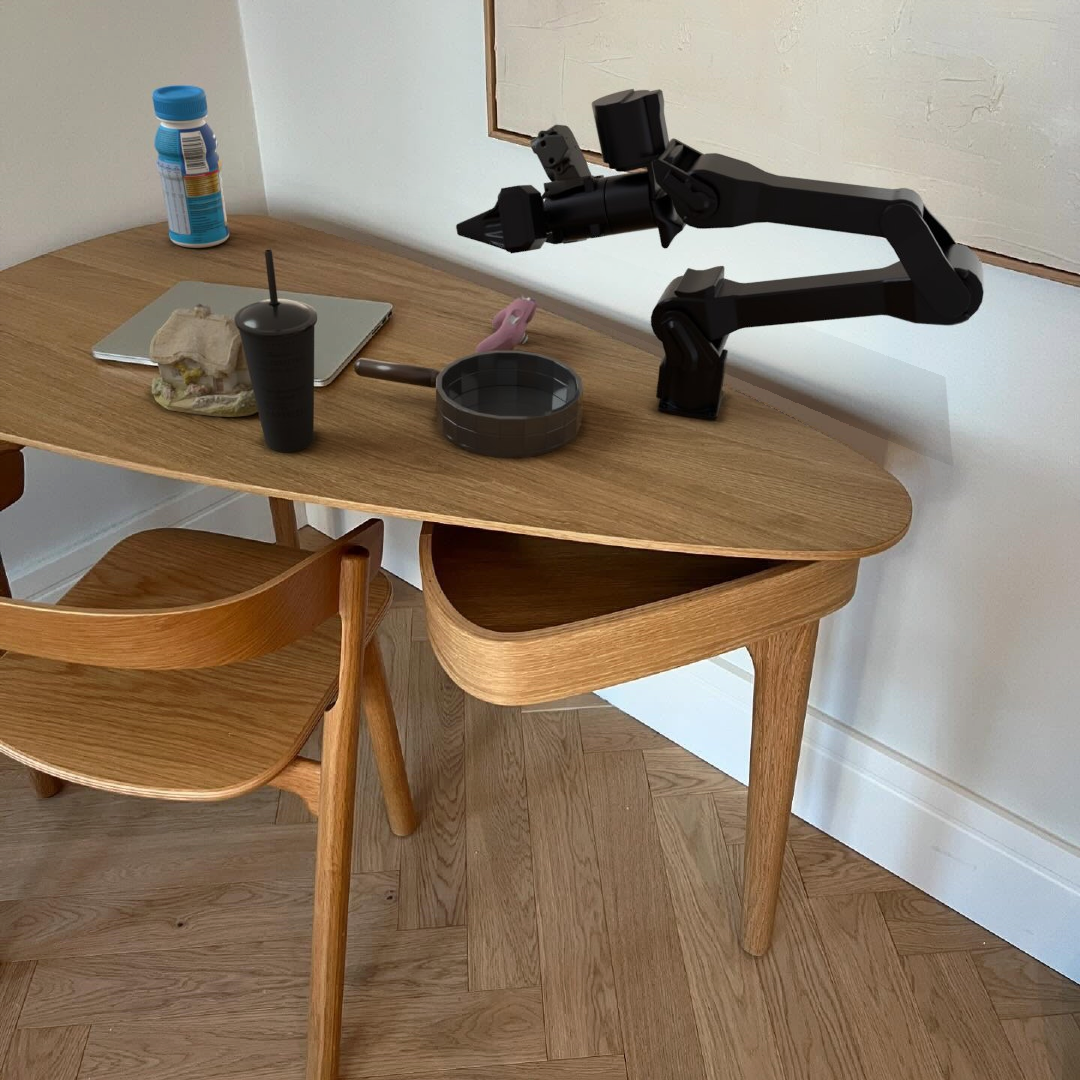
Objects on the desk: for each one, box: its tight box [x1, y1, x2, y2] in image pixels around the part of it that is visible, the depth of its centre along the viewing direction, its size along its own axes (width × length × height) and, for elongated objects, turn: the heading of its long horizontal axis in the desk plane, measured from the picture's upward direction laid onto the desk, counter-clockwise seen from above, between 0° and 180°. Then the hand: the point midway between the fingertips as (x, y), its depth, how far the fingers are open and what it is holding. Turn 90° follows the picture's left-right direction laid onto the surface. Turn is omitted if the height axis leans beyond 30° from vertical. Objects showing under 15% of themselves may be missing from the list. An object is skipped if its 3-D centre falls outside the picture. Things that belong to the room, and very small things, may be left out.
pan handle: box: [353, 357, 441, 389], centre depth 116 cm, size 10×2×2 cm, turn 75°
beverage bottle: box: [151, 84, 230, 249], centre depth 149 cm, size 8×8×20 cm
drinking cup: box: [233, 249, 318, 453], centre depth 105 cm, size 8×8×20 cm
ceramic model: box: [148, 303, 258, 418], centre depth 116 cm, size 14×11×10 cm
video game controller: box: [475, 294, 539, 353], centre depth 129 cm, size 10×5×7 cm, turn 168°
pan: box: [435, 350, 584, 459], centre depth 115 cm, size 15×15×4 cm
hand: (475, 227), depth 117 cm, fingers open, 9 cm apart
